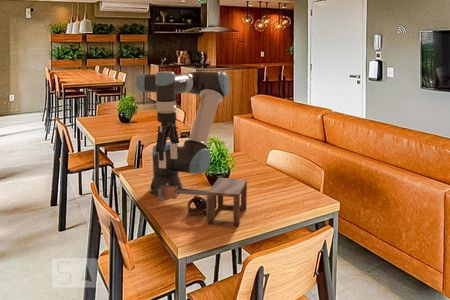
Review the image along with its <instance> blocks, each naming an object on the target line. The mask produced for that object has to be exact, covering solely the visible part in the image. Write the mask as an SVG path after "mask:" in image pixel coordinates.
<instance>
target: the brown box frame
mask: <svg viewBox="0 0 450 300" xmlns="http://www.w3.org/2000/svg"><path fill="white" fill-rule="evenodd" d="M208 191H209V190H203V189H190V188H182V189H181V188H177V186H171V185H168V183H164V184H163V185H161V186H160V187H159V188H158V195H157V199H158V201H163V200H164V199H170V200H171V199H172V200H177V198H178V194H180V195H181V194H182V195H193V196H205V197H206V200H207V209H206V219H208ZM177 193H178V194H177ZM216 209H217V196H214V211H215V210H216Z"/></svg>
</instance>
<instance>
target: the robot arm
mask: <svg viewBox="0 0 450 300" xmlns="http://www.w3.org/2000/svg"><path fill="white" fill-rule="evenodd" d="M135 86H136V89H137V91H138V92H142V93H156V111H157V113H156V118H157V120H156V121H157V122H158V123H161V125H160V126H157V137H156V143H155V145H154V146H153V147H152V152H151V155H152V169H153V170H152V172H153V173H152V174H153V177H152V180H151V183H150V188H149V190H150V191H151V192H152V193H153V194H152V193H151V192H150V193H151V194H152V195H154V194H156V195H155V196H158V188H159V187H160V186H161V185H163V184H164V183H168V185H171V186H177V188H181V189H183V184H182V181H181V179H180V176H179V173H187V174H192V175H195V174H197V175H202V174H203V173H205V172H206V171H207V170H208V168H209V166H210V162H211V152H210V150H209V149H210V148H209V146H208V145H207V143H208V140H209V137H210V134H211V130H212V127H213V123H214V119H215V116H216V113H217V110H218V106H219V104H220V103H222V102H223V100H224V97H228V96H229V95H230V93H231V91H230V90H231V83H230V78H229V75H228V74H227V73H226V72H224V71H223V72H222V71H191V72H182V73H179V74H175V72H174V71H158V72H157V71H156V73H149V74H148V73H140V74H138V75H137V76H136V78H135ZM183 93H184V94H185V93H187V94H192V95H196V96H197V95H198V96H200V98H201V99H200V101H199V102H200V103H199V105H198V108H197V112H196V115H195V118H194V122H193V124H192V127H191V131H190V134H189V137H188V139H187V140H185V141H184V142H183V145H182V146H179V143H180V140H179V139H180V138H179V133H178V130H177V123H176V122H177V112H176V110H177V105H178V104H177V102H176V101H177V100H176V99H177V98H176V96H177V95H179V94H183ZM168 138H169V141H168ZM177 195H178V193H177Z"/></svg>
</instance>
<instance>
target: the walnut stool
mask: <svg viewBox="0 0 450 300" xmlns="http://www.w3.org/2000/svg"><path fill="white" fill-rule="evenodd" d="M247 186H248V179H245V178H243V179H241V178H230V177H229V178H228V177H217V179H216V181H215V182H214V183H213V185H212V186H211V187H210V189H208V190H207V191H208V218H207V224H208V225H214V226H226V227H235V228H237V227H240V221H241V220H240V217H241V216H240V212H241V211H244V212H246V211H247V205H248V204H247V201H248V200H247V199H248V197H247V195H248V194H247V192H248V187H247ZM214 196H216V197H217V209H220V210H222V209H227V210H228V209H229V210H233V213H232V215H233V221H228V220H221V219H219V220H218V219H215V210H214ZM224 197H228V198H233V204H227V203H224Z"/></svg>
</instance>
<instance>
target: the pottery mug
mask: <svg viewBox="0 0 450 300" xmlns="http://www.w3.org/2000/svg"><path fill="white" fill-rule="evenodd" d="M192 203H193V205H194V206H195V207H191V205H192ZM204 210H206V211H207V198H206V199H205V198H204V197H202V196H200V195H193V197H192V198H190V200H189V201H188V203H187V213H188V215H189V216H190V215H197V214H201V213H205V211H204Z"/></svg>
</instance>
